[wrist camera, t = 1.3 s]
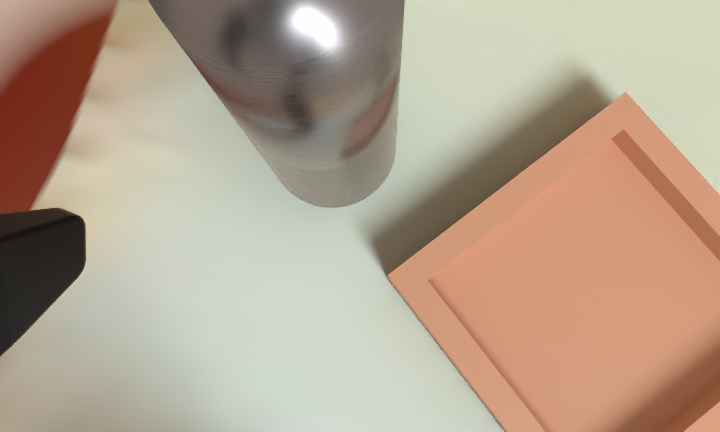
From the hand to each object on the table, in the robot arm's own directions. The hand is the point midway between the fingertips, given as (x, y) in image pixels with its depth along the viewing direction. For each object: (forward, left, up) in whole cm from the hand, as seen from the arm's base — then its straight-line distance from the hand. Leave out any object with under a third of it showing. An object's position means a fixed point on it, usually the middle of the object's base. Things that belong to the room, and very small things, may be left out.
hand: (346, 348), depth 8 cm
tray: (+7, -4, -14) cm, 16 cm away
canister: (+3, +7, -14) cm, 16 cm away
